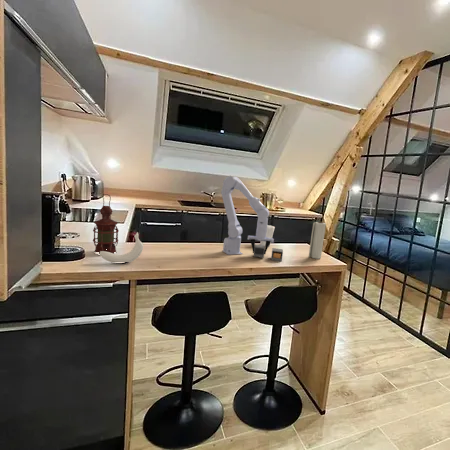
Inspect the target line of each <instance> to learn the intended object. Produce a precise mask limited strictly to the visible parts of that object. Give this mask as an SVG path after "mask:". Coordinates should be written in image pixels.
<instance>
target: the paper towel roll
mask: <svg viewBox="0 0 450 450" xmlns="http://www.w3.org/2000/svg"><path fill="white" fill-rule="evenodd" d="M326 224H327V223H326V222H321V221H320V222H319V221H314V222H313V223H312V229H311V237H310V243H309V250H308V258H312V259H316V260H317V259H318V260H319V259H322V252H323V246H324V241H325V240H324V239H325V233H326V227H327V225H326Z"/></svg>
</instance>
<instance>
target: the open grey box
mask: <svg viewBox="0 0 450 450" xmlns="http://www.w3.org/2000/svg"><path fill="white" fill-rule="evenodd" d="M274 252H281V258H273V253H274ZM283 254H284V249H283V248H274V247H273V248H272V249H271V258H270V259H271V261H274V262H275V261H276V262H282V261H283Z"/></svg>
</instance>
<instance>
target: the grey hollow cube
mask: <svg viewBox="0 0 450 450" xmlns="http://www.w3.org/2000/svg"><path fill="white" fill-rule="evenodd" d="M264 252H265V246H264V245H261V244H255V246H254V253H253V257H256V258H265V254H264Z"/></svg>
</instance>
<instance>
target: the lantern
mask: <svg viewBox="0 0 450 450" xmlns="http://www.w3.org/2000/svg"><path fill="white" fill-rule="evenodd" d="M105 195H106V196H109V200H108V201H109V202H108V205H105V199H104V196H105ZM102 202H103V205H102V206H101V208H100V210H99V212H100V214H101V218H100V219H98V220H95V221H94V225H95V226H94V227H93V228H92V229H93V230H92V231H93V240H92V242H93V244H94V246H95V249H94V252H95V251H96V252H99V253H100V251H105V252H110V253H114V252H116V253H117V248H116V246H118V243H119V231H120V230H119V228H118V226H117V225H118V224H119V223H118V221H116V220H113V219H112V214H113V209H112V208H111V206H110V203H111V195H110V194H107V193H103V194H102ZM96 230H97V231H96ZM96 235H97V237H96ZM96 240H97V241H96ZM106 249H107V250H106Z"/></svg>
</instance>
